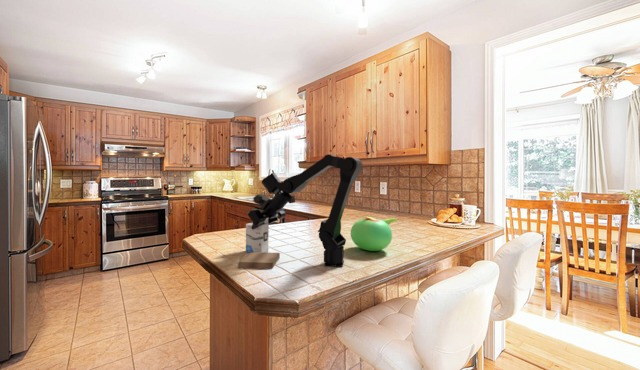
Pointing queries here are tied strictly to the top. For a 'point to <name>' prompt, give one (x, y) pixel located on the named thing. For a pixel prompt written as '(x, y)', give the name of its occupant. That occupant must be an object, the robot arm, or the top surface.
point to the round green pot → (372, 233)
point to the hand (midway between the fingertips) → (256, 227)
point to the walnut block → (259, 260)
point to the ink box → (257, 238)
